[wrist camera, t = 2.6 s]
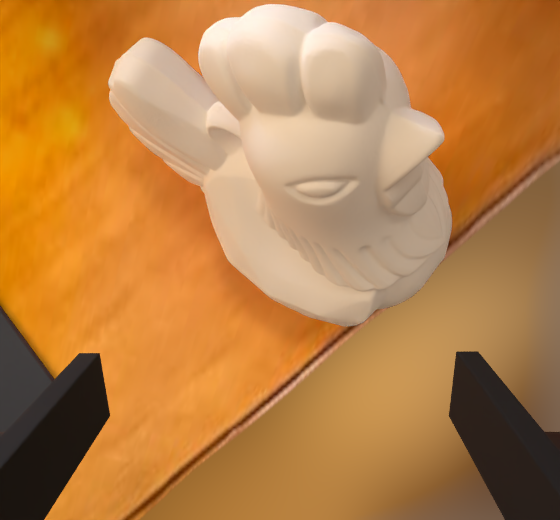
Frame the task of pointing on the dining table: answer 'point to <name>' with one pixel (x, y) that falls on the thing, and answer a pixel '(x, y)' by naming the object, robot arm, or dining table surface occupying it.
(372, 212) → the decorative rooster
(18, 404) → the placemat
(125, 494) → the dining table surface
